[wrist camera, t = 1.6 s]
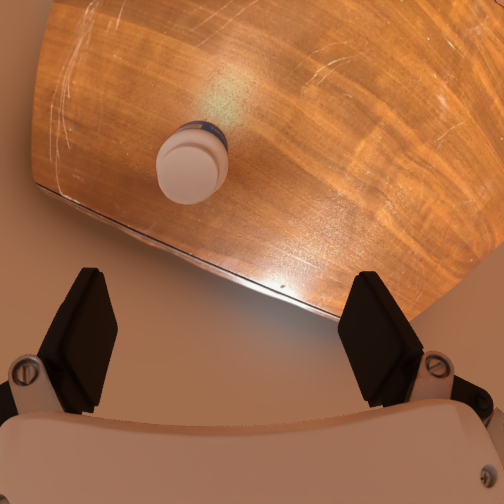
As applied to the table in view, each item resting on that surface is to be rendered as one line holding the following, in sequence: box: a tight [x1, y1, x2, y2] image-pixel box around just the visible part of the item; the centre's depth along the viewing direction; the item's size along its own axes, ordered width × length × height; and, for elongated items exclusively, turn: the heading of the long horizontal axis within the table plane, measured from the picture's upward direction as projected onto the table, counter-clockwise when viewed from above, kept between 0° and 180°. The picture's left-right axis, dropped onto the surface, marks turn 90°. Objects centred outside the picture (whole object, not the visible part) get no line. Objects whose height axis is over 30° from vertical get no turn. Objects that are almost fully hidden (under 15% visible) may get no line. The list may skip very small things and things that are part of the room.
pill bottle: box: [156, 121, 229, 205], centre depth 22 cm, size 6×5×10 cm
